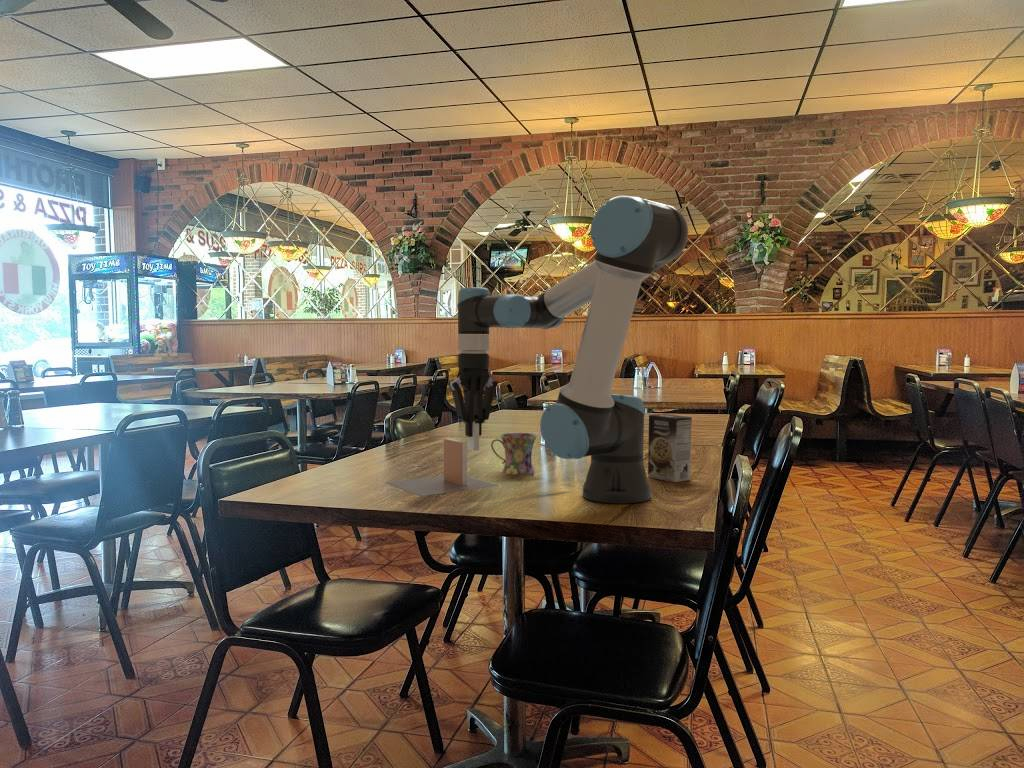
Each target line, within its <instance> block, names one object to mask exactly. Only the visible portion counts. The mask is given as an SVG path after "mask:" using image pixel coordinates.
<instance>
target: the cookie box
mask: <svg viewBox="0 0 1024 768" xmlns="http://www.w3.org/2000/svg"><path fill="white" fill-rule="evenodd" d="M692 421H693V420H692V417H690V416H684V415H683V416H682V415H677V414H676V415H675V414H668V413H662V414H660V413H658V414H657V413H655V414H649V415H648V442H647V443H648V445H647V446H648V449H647V450H648V451H647V452H648V458H647V460H648V461H647V478H652V479H656V480H660V481H666V482H670V483H679V482H684V481H685V482H686V481H690V479H691V450H692V447H691V446H692Z"/></svg>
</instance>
